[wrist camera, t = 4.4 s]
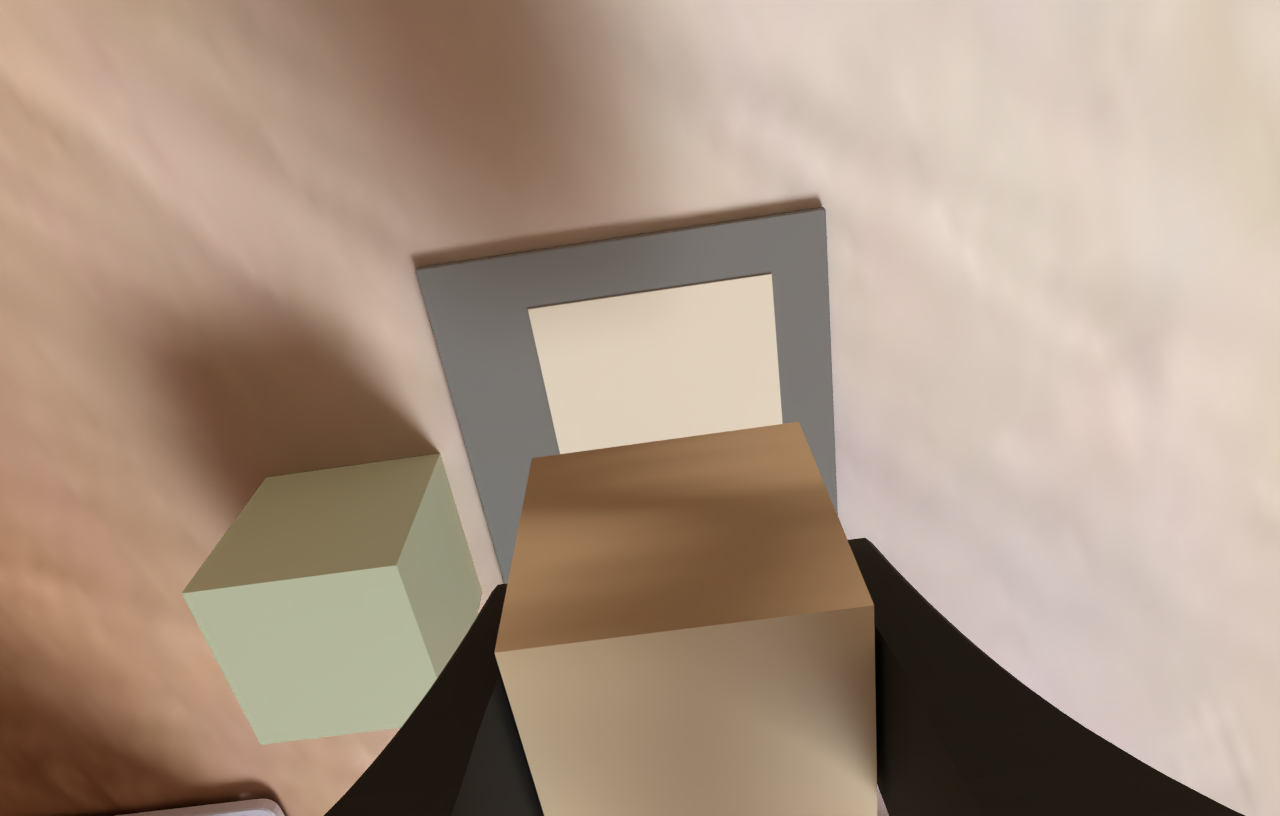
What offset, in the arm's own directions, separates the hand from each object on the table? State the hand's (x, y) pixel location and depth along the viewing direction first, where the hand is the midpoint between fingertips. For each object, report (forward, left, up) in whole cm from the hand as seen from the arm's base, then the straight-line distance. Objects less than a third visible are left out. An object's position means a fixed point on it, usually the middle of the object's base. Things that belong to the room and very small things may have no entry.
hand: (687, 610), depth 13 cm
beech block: (0, 0, -2) cm, 2 cm away
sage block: (-8, -3, -8) cm, 12 cm away
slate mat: (-1, -1, -8) cm, 8 cm away
